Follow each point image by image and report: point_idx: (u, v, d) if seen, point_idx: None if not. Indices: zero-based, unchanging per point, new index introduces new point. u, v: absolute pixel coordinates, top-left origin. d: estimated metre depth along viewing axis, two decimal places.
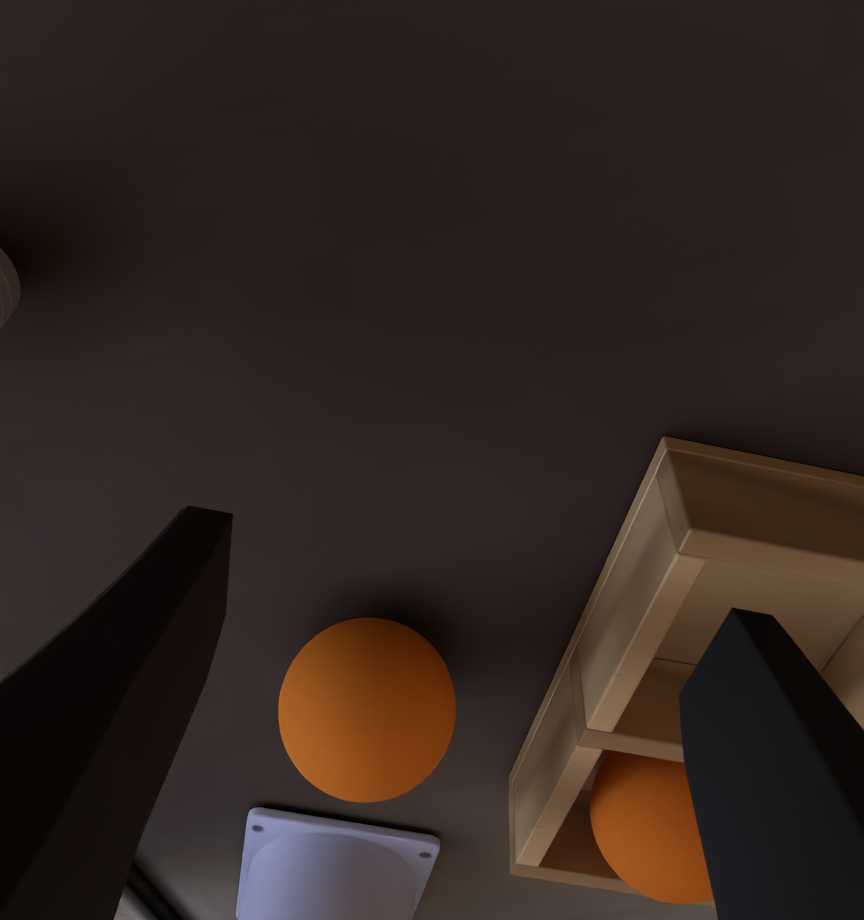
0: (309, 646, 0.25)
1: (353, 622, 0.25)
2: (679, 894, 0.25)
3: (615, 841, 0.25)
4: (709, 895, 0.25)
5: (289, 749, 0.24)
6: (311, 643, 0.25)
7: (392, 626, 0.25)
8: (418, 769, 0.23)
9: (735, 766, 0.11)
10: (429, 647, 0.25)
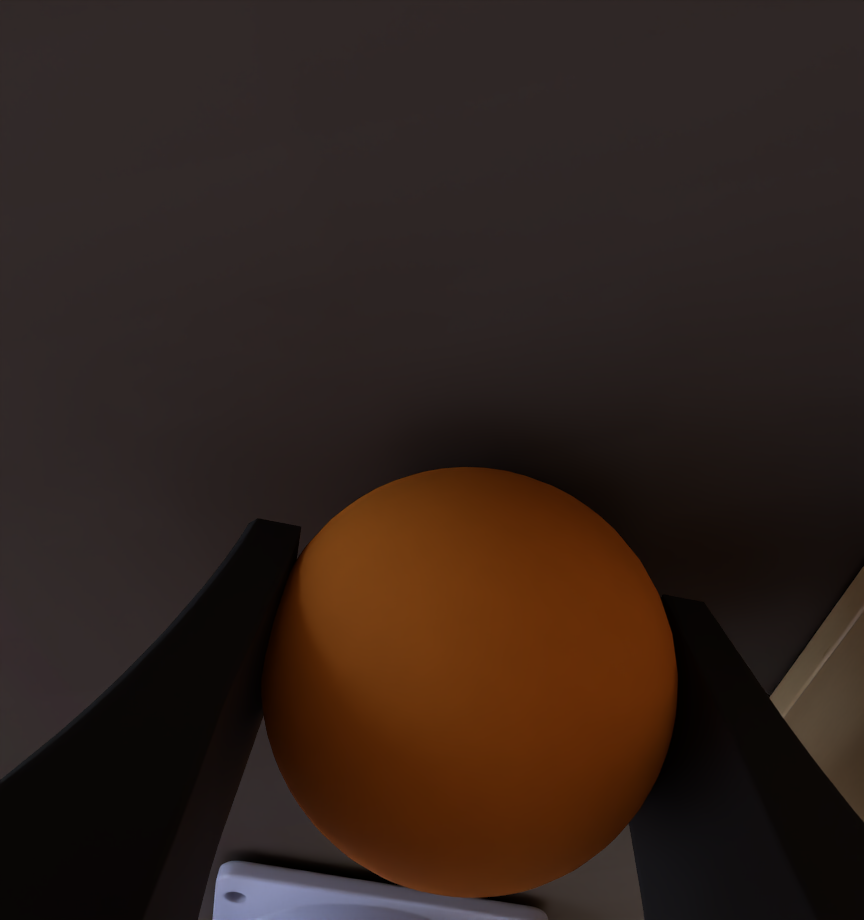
0: (334, 522, 0.10)
1: (435, 471, 0.11)
2: None
3: None
4: None
5: (286, 768, 0.10)
6: (338, 517, 0.10)
7: (527, 478, 0.11)
8: (615, 819, 0.09)
9: None
10: (613, 528, 0.11)
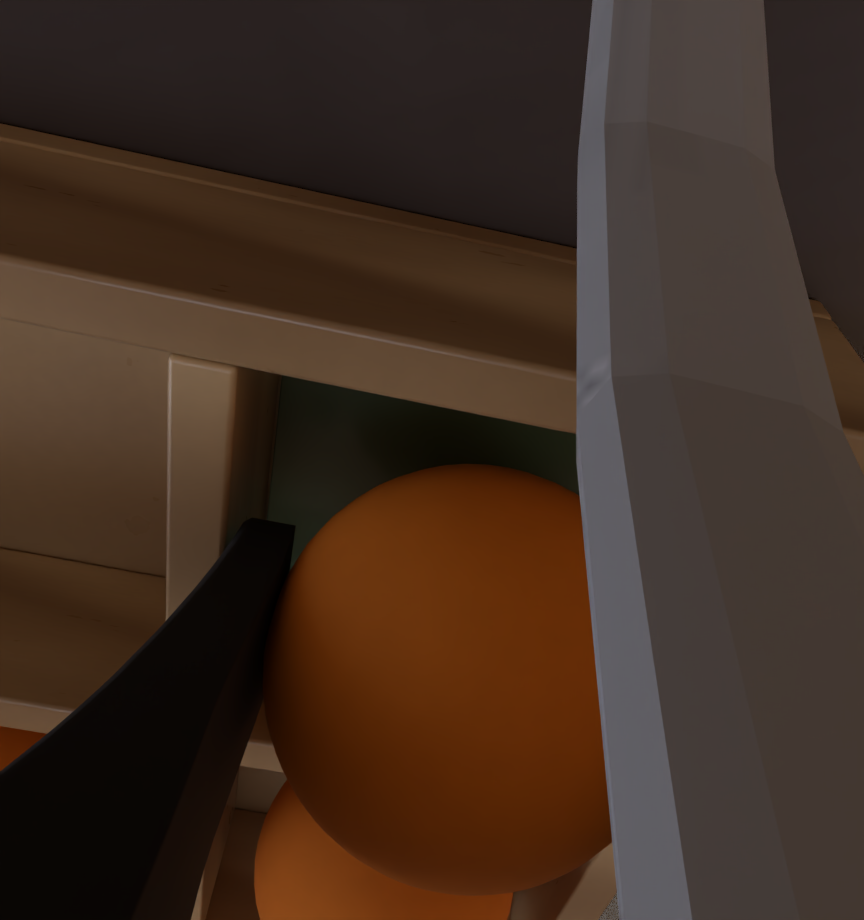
0: (336, 519, 0.10)
1: (437, 467, 0.11)
2: None
3: None
4: None
5: (288, 765, 0.10)
6: (340, 513, 0.10)
7: (530, 475, 0.11)
8: None
9: None
10: None
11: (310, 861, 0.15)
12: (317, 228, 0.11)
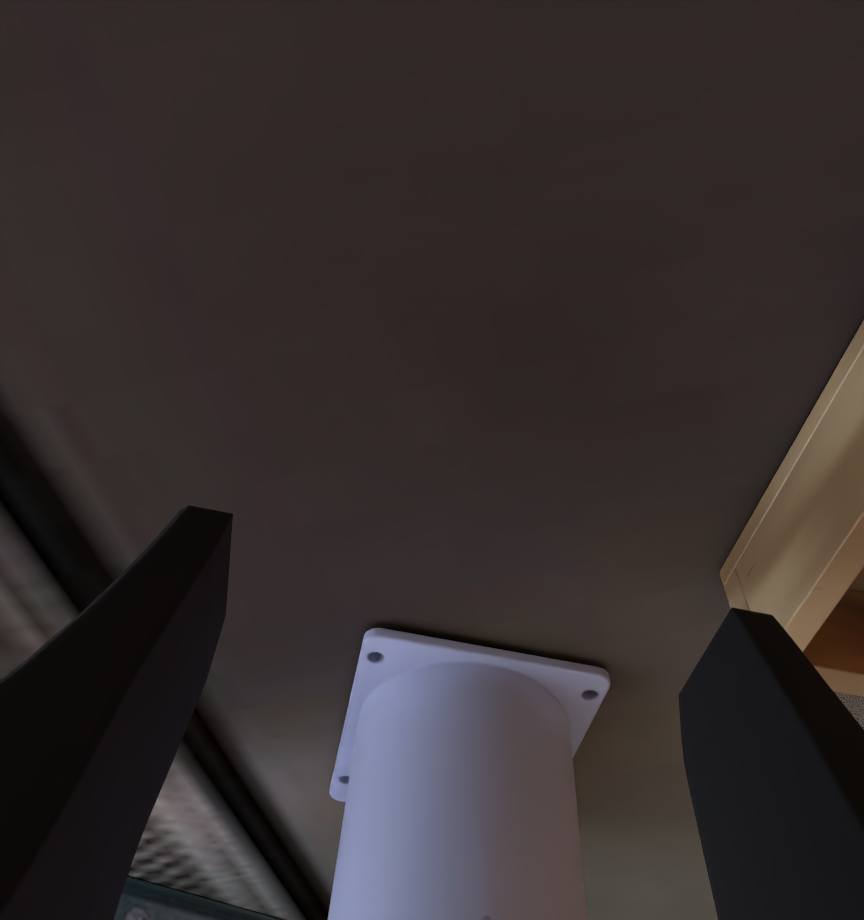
0: None
1: None
2: None
3: None
4: None
5: None
6: None
7: None
8: None
9: (735, 766, 0.11)
10: None
11: None
12: None
